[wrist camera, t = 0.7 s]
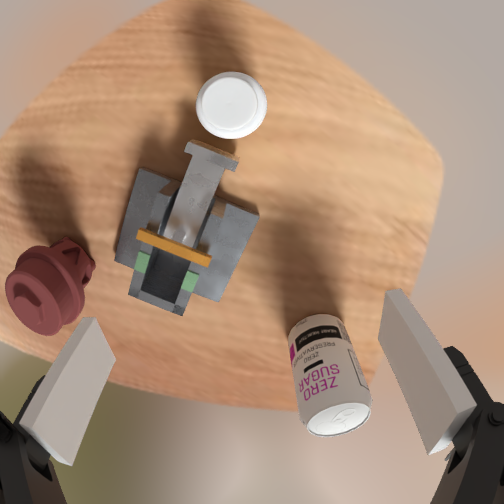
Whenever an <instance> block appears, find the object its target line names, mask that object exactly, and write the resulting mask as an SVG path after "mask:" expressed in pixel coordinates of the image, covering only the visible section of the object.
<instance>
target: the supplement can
mask: <svg viewBox="0 0 504 504" xmlns="http://www.w3.org/2000/svg"><path fill="white" fill-rule="evenodd" d="M288 345H289V352H290V358H291V364H292V371H293V377H294V384H295V390H296V397H297V404H298V411H299V417H300V420H301V422H302V423H303V424H304V425H305V427H307V429H308V431H309V432H310V434H313V435H315V436H318V437H335V436H339V435H343V434H346V433H349V432H351V431H353V430H355V429H357V428H358V427H360V426H361V425H363V424H364V423H365V422H366V421H367V420H368V418H369V416H370V413H371V412H370V408H371V404H372V397H371V394H370V391H369V388H368V386H367V383H366V380H365V377H364V375H363V372H362V369H361V367H360V364H359V362H358V359H357V356H356V354H355V351H354V349H353V346H352V344H351V341H350V339H349V336H348V334H347V331H346V329H345V326H344V324H343V322H342V321H341V320H340V319H339V318H337V317H335V316H332V315H329V314H316V315H313V316H309V317H306V318H305V319H303V320H301V321H299V322H298V323H297V324H296V325H295V326H294V327H293V328H292V329H291V331H290V334H289V336H288Z"/></svg>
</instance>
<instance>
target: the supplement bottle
mask: <svg viewBox="0 0 504 504" xmlns="http://www.w3.org/2000/svg"><path fill="white" fill-rule="evenodd" d="M266 111H267V99H266V95H265V92H264V90H263V88H262V87H261V85H260V84H259V83H258V82H257V81H256V80H255V79H254V78H252V77H250V76H249V75H246V74H244V73H240V72H224V73H220V74H218V75H216V76H214V77H212V78H211V79H209V80H208V81H207V82H206V83H205V84H204V85H203V86H202V88H201V89H200V91H199V93H198V96H197V99H196V112H197V116H198V118H199V121H200V122H201V124H202V125H203V126H204V128H205V129H206V130H208V131H209V132H210V133H212V134H213V135H215V136H218V137H221V138H226V139H236V138H241V137H244V136H246V135H248V134H250V133H252V132H253V131H255V130H256V129H257V128H258V127H259V126H260V124H261V123H262V121H263V119H264V117H265V115H266Z"/></svg>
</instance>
